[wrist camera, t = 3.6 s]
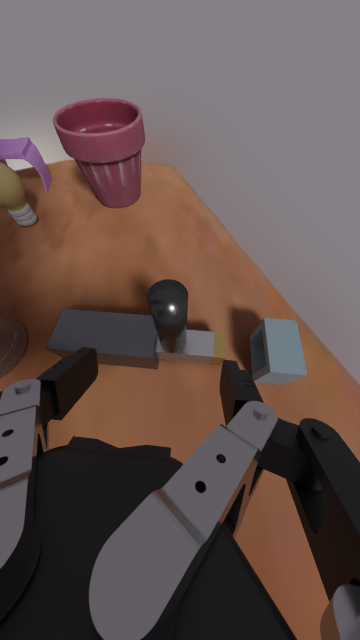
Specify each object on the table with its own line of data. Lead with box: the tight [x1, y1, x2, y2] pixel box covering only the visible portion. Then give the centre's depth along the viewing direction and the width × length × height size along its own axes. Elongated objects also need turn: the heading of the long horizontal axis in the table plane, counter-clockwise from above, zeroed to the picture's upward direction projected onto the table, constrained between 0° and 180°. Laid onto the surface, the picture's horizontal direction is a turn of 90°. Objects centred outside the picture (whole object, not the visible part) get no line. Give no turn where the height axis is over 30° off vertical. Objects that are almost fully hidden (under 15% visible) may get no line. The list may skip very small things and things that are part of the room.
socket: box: [249, 318, 307, 385], centre depth 23 cm, size 4×6×6 cm, turn 175°
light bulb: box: [0, 162, 37, 226], centre depth 34 cm, size 6×6×10 cm
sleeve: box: [46, 309, 159, 369], centre depth 24 cm, size 12×5×5 cm, turn 85°
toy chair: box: [0, 137, 52, 193], centre depth 38 cm, size 8×9×15 cm
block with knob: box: [147, 279, 225, 365], centre depth 20 cm, size 18×3×12 cm, turn 85°
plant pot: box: [53, 98, 145, 208], centre depth 37 cm, size 14×14×13 cm
